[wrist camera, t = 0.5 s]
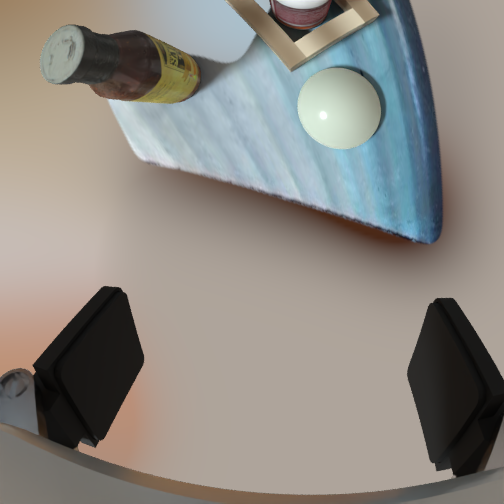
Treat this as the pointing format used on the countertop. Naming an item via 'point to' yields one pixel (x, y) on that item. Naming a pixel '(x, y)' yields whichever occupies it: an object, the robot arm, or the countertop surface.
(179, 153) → the countertop surface
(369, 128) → the saucer
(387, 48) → the countertop surface
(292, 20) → the pill bottle
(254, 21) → the wooden square frame
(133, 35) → the sauce bottle
